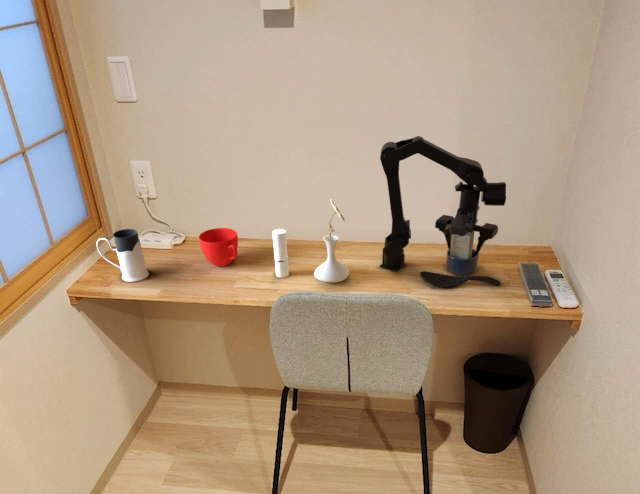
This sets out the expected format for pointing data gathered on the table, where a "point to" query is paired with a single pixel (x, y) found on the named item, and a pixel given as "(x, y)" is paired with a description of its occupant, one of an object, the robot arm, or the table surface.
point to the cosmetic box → (462, 246)
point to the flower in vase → (331, 257)
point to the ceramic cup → (219, 245)
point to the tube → (280, 252)
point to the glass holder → (128, 255)
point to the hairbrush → (453, 279)
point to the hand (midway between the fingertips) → (463, 251)
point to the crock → (461, 264)
